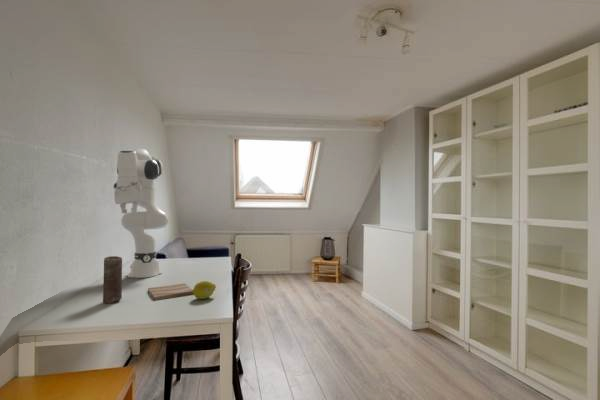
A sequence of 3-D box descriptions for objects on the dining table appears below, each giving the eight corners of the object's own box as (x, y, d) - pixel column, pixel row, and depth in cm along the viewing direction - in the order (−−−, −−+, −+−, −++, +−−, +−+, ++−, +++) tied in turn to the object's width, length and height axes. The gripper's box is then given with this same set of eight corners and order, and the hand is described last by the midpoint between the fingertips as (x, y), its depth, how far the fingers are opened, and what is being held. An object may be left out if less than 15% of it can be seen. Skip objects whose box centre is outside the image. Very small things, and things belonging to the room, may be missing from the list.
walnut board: (148, 291, 165) (148, 288, 165) (184, 286, 175) (184, 283, 175) (154, 300, 150) (154, 296, 150) (194, 294, 159) (194, 290, 159)
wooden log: (119, 298, 153) (119, 255, 153) (124, 301, 148) (124, 257, 148) (100, 301, 148) (100, 257, 148) (105, 305, 142) (105, 259, 142)
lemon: (193, 302, 146) (193, 284, 146) (190, 298, 153) (190, 281, 153) (218, 299, 151) (218, 281, 151) (213, 294, 158) (213, 278, 158)
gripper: (146, 181, 153) (147, 211, 152) (124, 186, 165) (125, 213, 165) (132, 180, 148) (133, 211, 147) (111, 185, 160) (112, 213, 159)
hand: (129, 212), depth 156 cm, fingers open, 8 cm apart
